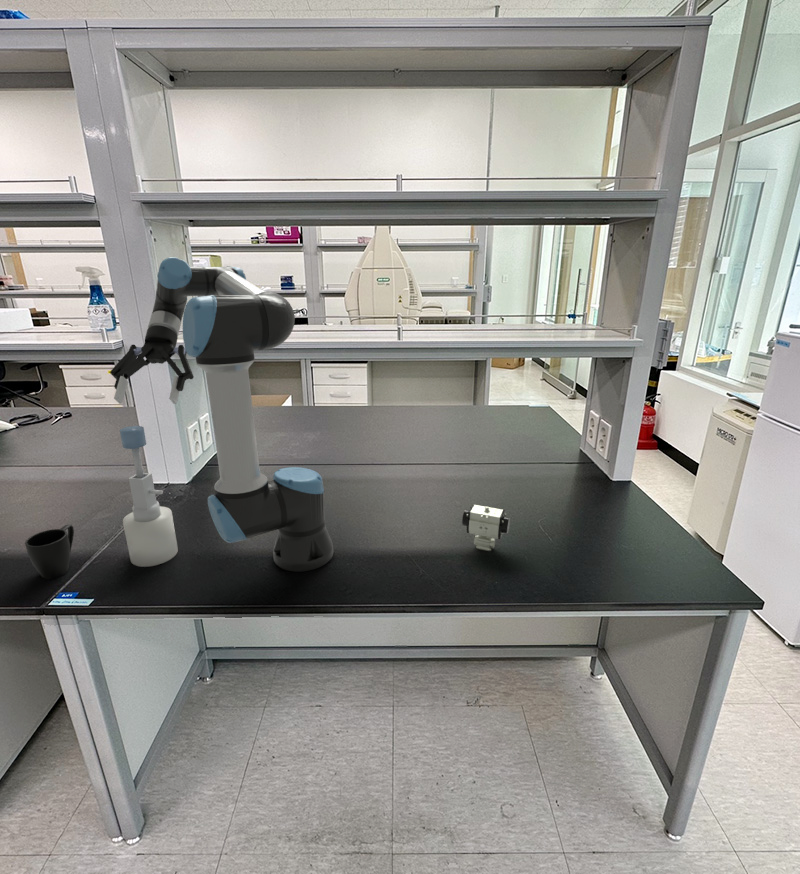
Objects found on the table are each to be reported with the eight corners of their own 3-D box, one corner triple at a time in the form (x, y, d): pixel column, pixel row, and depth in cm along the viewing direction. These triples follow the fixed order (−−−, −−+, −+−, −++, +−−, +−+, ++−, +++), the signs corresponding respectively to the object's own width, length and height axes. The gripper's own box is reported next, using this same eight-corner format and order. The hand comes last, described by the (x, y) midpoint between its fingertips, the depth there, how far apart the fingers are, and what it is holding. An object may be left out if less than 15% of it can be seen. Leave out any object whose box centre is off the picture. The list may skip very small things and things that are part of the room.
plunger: (156, 476, 121) (148, 426, 116) (143, 484, 116) (134, 433, 112) (138, 475, 121) (129, 425, 117) (124, 483, 117) (114, 431, 112)
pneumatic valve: (464, 538, 134) (467, 499, 130) (507, 547, 130) (511, 507, 126) (459, 548, 129) (461, 508, 125) (504, 558, 125) (507, 516, 121)
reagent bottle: (186, 545, 130) (174, 468, 123) (161, 568, 120) (146, 487, 112) (148, 541, 131) (134, 466, 124) (120, 564, 121) (103, 483, 114)
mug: (93, 555, 125) (86, 522, 122) (58, 583, 114) (49, 547, 111) (63, 553, 126) (55, 520, 123) (25, 581, 114) (15, 545, 111)
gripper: (214, 341, 135) (201, 408, 125) (123, 341, 134) (103, 408, 125) (204, 323, 128) (190, 393, 119) (108, 323, 127) (86, 393, 118)
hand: (145, 401), depth 122 cm, fingers open, 13 cm apart
